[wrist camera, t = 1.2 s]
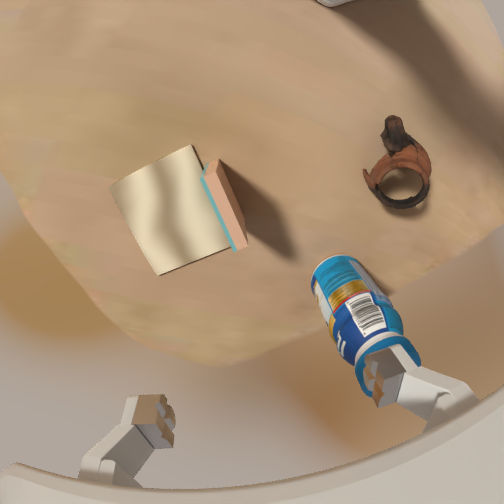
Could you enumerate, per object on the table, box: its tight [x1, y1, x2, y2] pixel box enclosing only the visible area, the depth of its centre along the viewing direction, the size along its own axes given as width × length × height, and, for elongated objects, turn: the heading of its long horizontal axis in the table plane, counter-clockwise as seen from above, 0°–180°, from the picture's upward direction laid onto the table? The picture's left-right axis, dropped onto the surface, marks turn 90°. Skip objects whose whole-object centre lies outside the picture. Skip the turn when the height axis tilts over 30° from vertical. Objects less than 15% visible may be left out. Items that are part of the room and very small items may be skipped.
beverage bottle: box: [311, 255, 421, 397], centre depth 33 cm, size 8×8×20 cm
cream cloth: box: [108, 145, 231, 276], centre depth 36 cm, size 12×14×1 cm
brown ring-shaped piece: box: [363, 115, 431, 209], centre depth 32 cm, size 12×10×8 cm
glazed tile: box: [200, 159, 248, 252], centre depth 31 cm, size 2×8×9 cm, turn 21°
